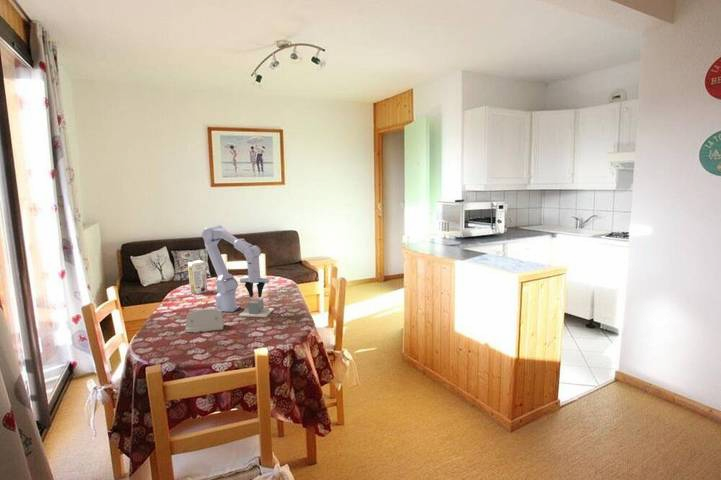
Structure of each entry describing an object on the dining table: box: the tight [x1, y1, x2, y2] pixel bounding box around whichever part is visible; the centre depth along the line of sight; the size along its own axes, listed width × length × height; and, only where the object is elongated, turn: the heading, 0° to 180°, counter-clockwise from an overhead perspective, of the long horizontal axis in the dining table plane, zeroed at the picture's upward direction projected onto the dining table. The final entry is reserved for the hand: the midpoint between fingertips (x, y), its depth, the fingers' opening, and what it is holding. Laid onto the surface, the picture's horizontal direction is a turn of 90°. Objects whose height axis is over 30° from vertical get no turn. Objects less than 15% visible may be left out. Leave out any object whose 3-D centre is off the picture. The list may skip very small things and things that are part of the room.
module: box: [247, 298, 265, 314], centre depth 205 cm, size 5×7×6 cm
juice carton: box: [187, 259, 208, 295], centre depth 244 cm, size 8×9×19 cm
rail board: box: [238, 307, 275, 318], centre depth 206 cm, size 14×11×2 cm
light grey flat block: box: [184, 308, 226, 333], centre depth 186 cm, size 17×5×10 cm, turn 103°
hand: (255, 296), depth 204 cm, fingers open, 4 cm apart
